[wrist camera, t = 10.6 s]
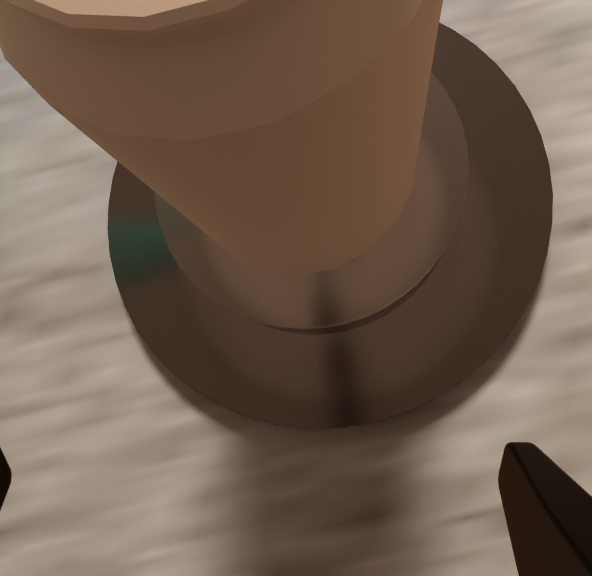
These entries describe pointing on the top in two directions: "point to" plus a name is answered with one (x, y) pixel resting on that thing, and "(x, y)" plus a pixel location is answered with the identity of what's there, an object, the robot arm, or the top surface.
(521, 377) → the top surface
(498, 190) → the duct stub
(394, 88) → the can
